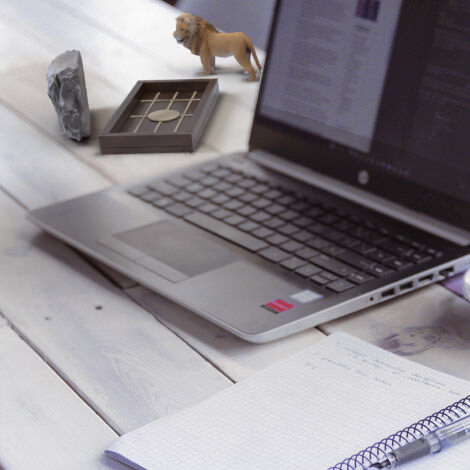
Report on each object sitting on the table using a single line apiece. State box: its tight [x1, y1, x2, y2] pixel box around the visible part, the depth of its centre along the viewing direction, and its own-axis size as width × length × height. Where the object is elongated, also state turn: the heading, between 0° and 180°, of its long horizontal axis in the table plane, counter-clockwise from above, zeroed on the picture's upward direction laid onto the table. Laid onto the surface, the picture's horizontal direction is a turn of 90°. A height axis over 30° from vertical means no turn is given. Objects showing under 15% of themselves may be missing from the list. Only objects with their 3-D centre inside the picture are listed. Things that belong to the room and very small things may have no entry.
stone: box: [45, 49, 92, 142], centre depth 118 cm, size 15×5×10 cm, turn 10°
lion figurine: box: [172, 13, 263, 82], centre depth 137 cm, size 15×5×9 cm, turn 72°
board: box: [97, 77, 221, 156], centre depth 121 cm, size 11×21×3 cm, turn 179°
